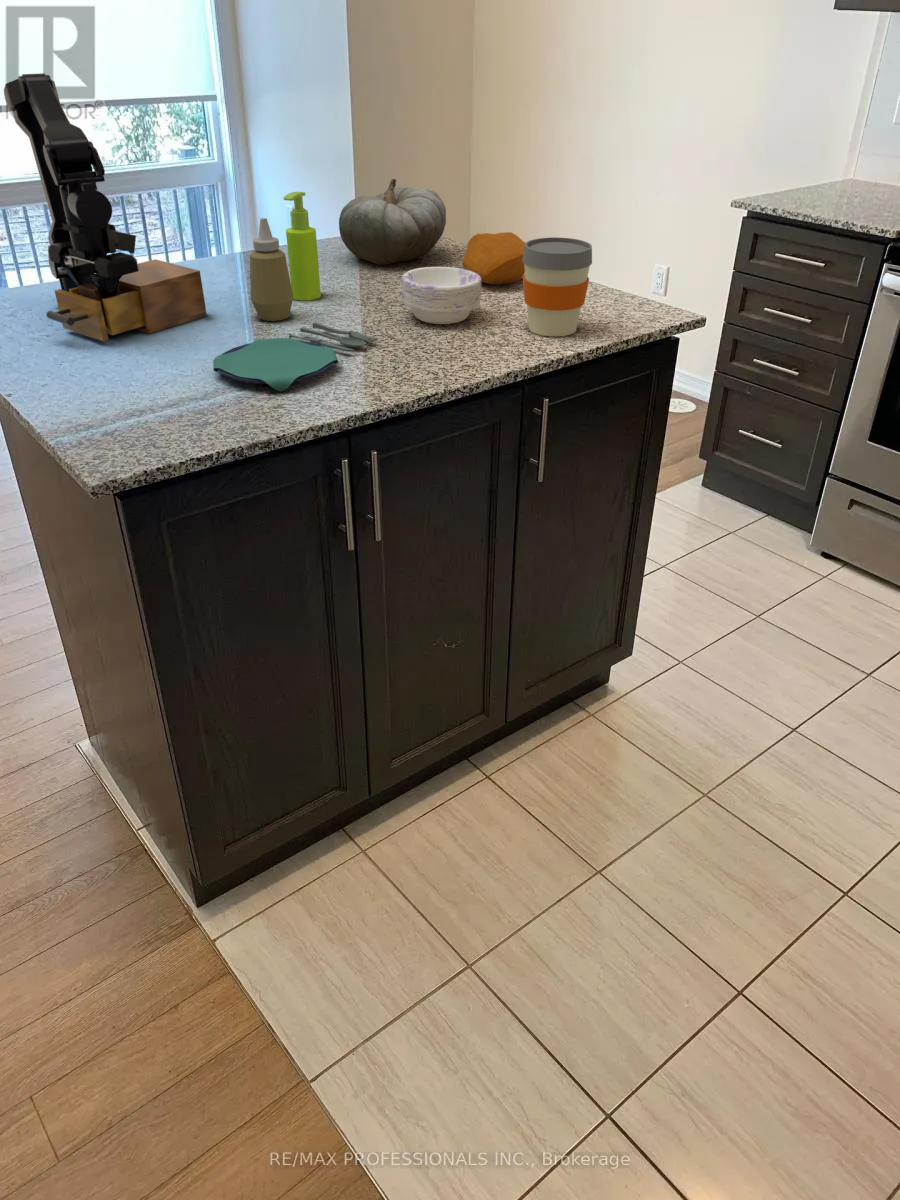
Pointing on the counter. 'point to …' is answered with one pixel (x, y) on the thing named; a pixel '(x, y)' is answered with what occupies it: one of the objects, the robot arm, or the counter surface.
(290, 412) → the counter surface
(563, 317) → the reusable coffee cup
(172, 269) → the cabinet
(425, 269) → the paper bowls
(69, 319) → the drawer
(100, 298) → the block
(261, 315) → the squeeze bottle
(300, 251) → the soap dispenser
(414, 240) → the gourd
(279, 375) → the cutlery set
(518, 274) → the bread
